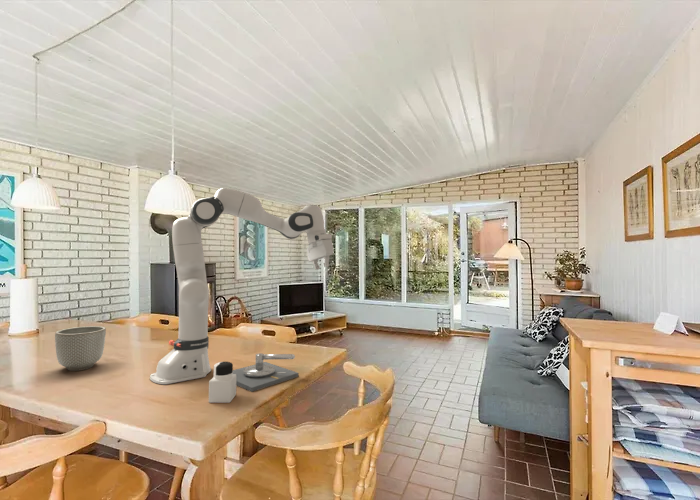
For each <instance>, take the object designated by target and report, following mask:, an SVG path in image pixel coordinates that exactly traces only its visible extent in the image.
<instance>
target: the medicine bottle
mask: <svg viewBox="0 0 700 500" xmlns="http://www.w3.org/2000/svg"><path fill="white" fill-rule="evenodd" d="M233 368H234V367H233V363H232V362H230V361H219V362H216V363H215V364H214V365H213V377H212V378H211V379H210V380H209V381H208V403H209V404H210V403H211V404H212V403H214V404H215V403H216V404H217V403H223V404H227V403H228V404H230V403H231V402H232V400H233V399H234V398H235V396H236V395H237V385H236V374H233V370H234V369H233Z"/></svg>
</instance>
